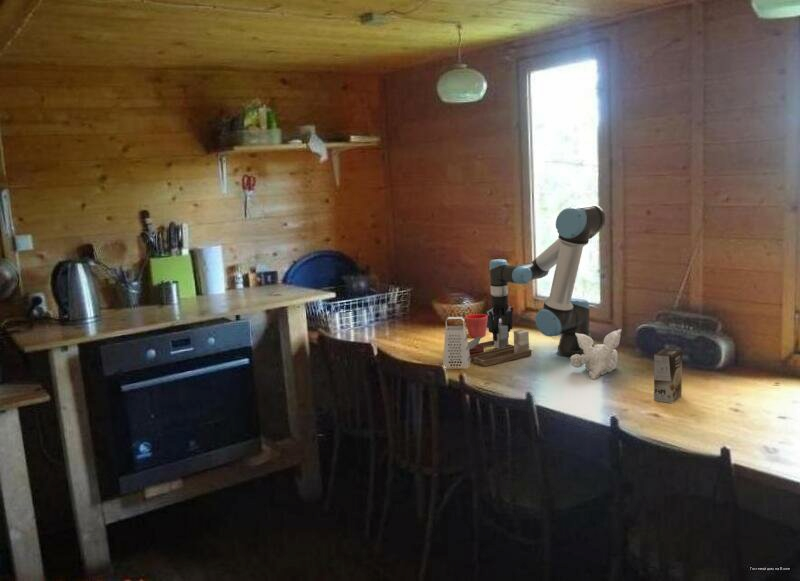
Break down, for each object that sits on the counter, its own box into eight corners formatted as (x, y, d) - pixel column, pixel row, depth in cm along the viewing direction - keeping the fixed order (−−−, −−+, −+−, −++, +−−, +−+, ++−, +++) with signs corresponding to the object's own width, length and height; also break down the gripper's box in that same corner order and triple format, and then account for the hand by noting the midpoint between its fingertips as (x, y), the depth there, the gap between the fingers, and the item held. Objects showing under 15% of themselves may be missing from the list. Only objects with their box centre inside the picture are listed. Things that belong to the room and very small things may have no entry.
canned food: (478, 368, 309) (474, 351, 303) (458, 363, 315) (454, 346, 309) (491, 351, 316) (487, 334, 310) (471, 346, 322) (467, 329, 316)
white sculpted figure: (625, 340, 286) (620, 324, 269) (626, 390, 279) (621, 376, 262) (576, 341, 293) (568, 325, 276) (576, 389, 286) (568, 376, 269)
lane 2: (531, 355, 306) (530, 332, 304) (484, 366, 294) (483, 342, 292) (519, 351, 313) (518, 328, 311) (473, 362, 301) (472, 338, 299)
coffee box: (672, 403, 239) (673, 356, 236) (653, 400, 243) (653, 354, 240) (682, 396, 246) (682, 350, 243) (663, 393, 250) (663, 348, 247)
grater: (468, 368, 294) (466, 320, 290) (442, 368, 296) (440, 320, 293) (471, 361, 304) (468, 314, 300) (446, 361, 306) (443, 315, 303)
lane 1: (515, 350, 315) (514, 327, 314) (469, 360, 303) (468, 337, 302) (495, 344, 328) (494, 322, 326) (450, 354, 316) (448, 331, 314)
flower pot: (461, 335, 349) (460, 315, 347) (481, 332, 353) (480, 312, 352) (472, 339, 339) (472, 319, 338) (492, 336, 344) (492, 316, 342)
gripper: (509, 291, 324) (511, 341, 328) (478, 296, 315) (480, 348, 320) (520, 293, 317) (521, 344, 321) (488, 298, 309) (490, 351, 313)
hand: (501, 346), depth 320 cm, fingers closed on lane 1, 4 cm apart
